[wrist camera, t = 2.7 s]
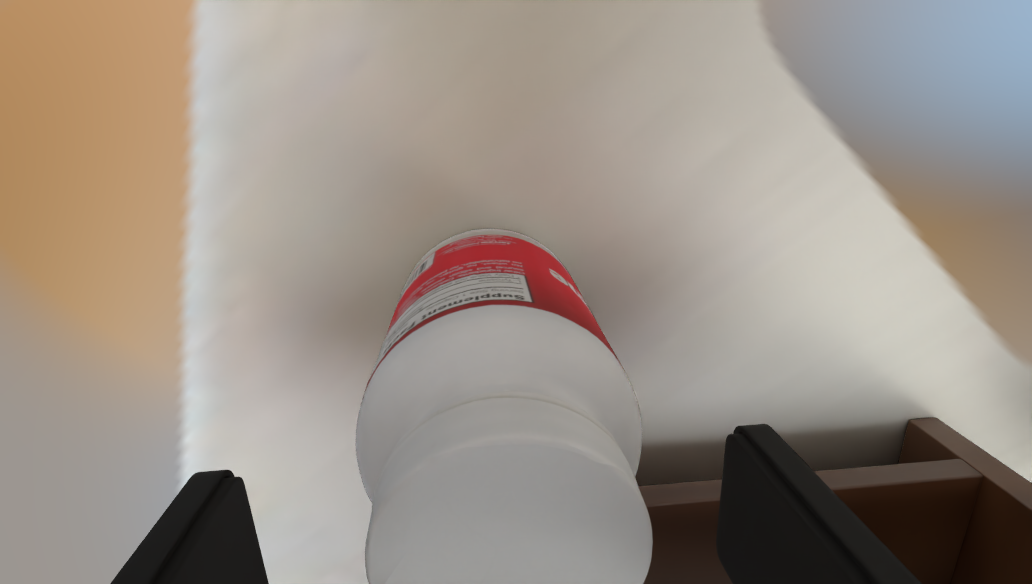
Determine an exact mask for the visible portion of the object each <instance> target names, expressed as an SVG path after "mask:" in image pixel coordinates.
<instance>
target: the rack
mask: <svg viewBox="0 0 1032 584" xmlns="http://www.w3.org/2000/svg"><path fill="white" fill-rule="evenodd" d="M814 472H815V473H816V474H817V475H818V476H819V477H820V478H821V479H822V480H823V482H824V483H825V484H826V485H827V486H828V487H829V488H830V489H831V490H832V491H833V492H834V493H835V494H836V495H837V496H838V497H839V498H840V499H841V500H842V501H843V502H844V503H845V504H846V505H847V506H848V507H849V508H850V510H851V511H852V512H853V513H854V514H855V515H856V516H857V517H858V518H859V519H860V520H861V521H862V522H863V523H864V524H865V525H866V526H867V527H868V528H869V529H870V530H871V531H872V532H873V533H874V534H875V535H876V537H877V538H878V539H879V540H880V541H881V542H882V543H883V544H884V545H885V546H886V547H887V548H888V549H889V550H890V551H891V552H892V553H893V554H894V555H895V556H896V557H897V558H898V559H899V560H900V561H901V562H902V564H903V565H904V566H905V567H906V568H907V569H908V570H909V571H910V572H911V573H912V574H913V575H914V576H915V577H916V578H917V579H918V580H919V581H920V582H921V583H922V584H1032V483H1031V482H1029V481H1028V480H1026V479H1025V478H1023V477H1022V476H1020V475H1019V474H1018V473H1016V472H1015V471H1013V470H1012V469H1010V468H1009V467H1007V466H1006V465H1004V464H1003V463H1001V462H1000V461H999V460H997V459H996V458H994V457H993V456H991V455H990V454H988V453H987V452H985V451H984V450H983V449H981V448H980V447H978V446H977V445H975V444H974V443H972V442H971V441H969V440H968V439H967V438H965V437H964V436H962V435H961V434H959V433H958V432H956V431H955V430H953V429H952V428H950V427H949V426H948V425H946V424H945V423H943V422H942V421H940V420H939V419H937V418H926V419H913V420H909V422H908V426H907V430H906V434H905V438H904V442H903V446H902V450H901V454H900V459H899V463H898V464H893V465H881V466H869V467H858V468H846V469H834V470H823V471H814ZM721 485H722V479H718V480H706V481H695V482H683V483H671V484H660V485H648V486H638V487H639V490H640V492H641V495H642V497H643V500H644V502H645V505H646V507H647V510H648V514H649V517H650V522H651V527H652V539H653V545H652V557H651V563H650V567H649V570H648V573H647V576H646V578H645V581H644V583H643V584H733V583H732V582H731V580H730V578H729V576H728V574H727V573H726V571H725V569H724V567H723V566H722V564H721V562H720V560H719V557H718V553H717V549H716V536H717V526H718V515H719V505H720V495H721Z"/></svg>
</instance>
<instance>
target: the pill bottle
mask: <svg viewBox="0 0 1032 584" xmlns="http://www.w3.org/2000/svg"><path fill="white" fill-rule="evenodd" d="M641 448H642V424H641V415H640V410H639V406H638V402H637V399H636V396H635V393H634V390H633V388H632V386H631V383H630V381H629V379H628V377H627V375H626V373H625V371H624V369H623V367H622V365H621V364H620V362H619V360H618V358H617V357H616V355H615V353H614V352H613V350H612V348H611V347H610V345H609V343H608V341H607V340H606V338H605V336H604V334H603V332H602V331H601V329H600V327H599V325H598V324H597V322H596V320H595V318H594V316H593V315H592V313H591V311H590V310H589V308H588V305H587V304H586V303H585V301H584V299H583V297H582V295H581V293H580V292H579V290H578V288H577V286H576V285H575V283H574V281H573V279H572V278H571V276H570V274H569V273H568V271H567V270H566V268H565V267H564V265H563V264H562V263H561V261H560V260H559V259H558V258H557V257H556V256H555V255H554V254H553V253H552V252H551V251H550V250H549V249H548V248H546V247H545V246H544V245H542V244H541V243H539V242H537V241H536V240H534V239H532V238H530V237H528V236H525V235H523V234H520V233H517V232H513V231H508V230H503V229H477V230H471V231H467V232H464V233H460V234H457V235H455V236H452V237H450V238H448V239H446V240H444V241H442V242H441V243H439V244H438V245H436V246H435V247H434V248H432V249H431V250H430V251H428V252H427V253H426V254H425V255H424V256H423V257H422V258H421V260H420V261H419V262H418V263H417V264H416V266H415V267H414V269H413V270H412V272H411V273H410V275H409V277H408V279H407V281H406V283H405V285H404V288H403V290H402V292H401V295H400V297H399V301H398V304H397V307H396V309H395V312H394V315H393V318H392V320H391V323H390V326H389V329H388V332H387V334H386V337H385V340H384V342H383V345H382V347H381V350H380V353H379V356H378V359H377V361H376V364H375V366H374V369H373V372H372V375H371V377H370V379H369V381H368V384H367V387H366V389H365V393H364V396H363V399H362V403H361V407H360V411H359V416H358V420H357V429H356V455H357V461H358V466H359V470H360V474H361V478H362V482H363V484H364V487H365V490H366V492H367V494H368V497H369V499H370V500H371V502H372V514H371V519H370V524H369V529H368V534H367V539H366V547H365V566H366V573H367V579H368V582H369V584H643V583H644V581H645V578H646V576H647V573H648V570H649V567H650V563H651V557H652V545H653V539H652V527H651V522H650V517H649V514H648V510H647V507H646V505H645V502H644V500H643V497H642V495H641V492H640V490H639V487H638V484H637V482H636V479H635V476H636V473H637V470H638V465H639V461H640V455H641Z"/></svg>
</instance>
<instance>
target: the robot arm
mask: <svg viewBox="0 0 1032 584" xmlns="http://www.w3.org/2000/svg"><path fill="white" fill-rule="evenodd" d="M716 549H717V553H718V557H719V560H720V562H721V564H722V566H723V567H724V569H725V571H726V573H727V574H728V576H729V578H730V580H731V582H732V583H733V584H922V583H921V582H920V581H919V580H918V579H917V578H916V577H915V576H914V575H913V574H912V573H911V572H910V571H909V570H908V569H907V568H906V567H905V566H904V565H903V564H902V562H901V561H900V560H899V559H898V558H897V557H896V556H895V555H894V554H893V553H892V552H891V551H890V550H889V549H888V548H887V547H886V546H885V545H884V544H883V543H882V542H881V541H880V540H879V539H878V538H877V537H876V535H875V534H874V533H873V532H872V531H871V530H870V529H869V528H868V527H867V526H866V525H865V524H864V523H863V522H862V521H861V520H860V519H859V518H858V517H857V516H856V515H855V514H854V513H853V512H852V511H851V510H850V508H849V507H848V506H847V505H846V504H845V503H844V502H843V501H842V500H841V499H840V498H839V497H838V496H837V495H836V494H835V493H834V492H833V491H832V490H831V489H830V488H829V487H828V486H827V485H826V484H825V483H824V482H823V480H822V479H821V478H820V477H819V476H818V475H817V474H816V473H815V472H814V471H813V470H812V469H811V468H810V467H809V466H808V465H807V464H806V463H805V462H804V461H803V460H802V459H801V458H800V457H799V456H798V455H797V453H796V452H795V451H794V450H793V449H792V448H791V447H790V446H789V445H788V444H787V443H786V442H785V441H784V440H783V439H782V438H781V437H780V436H779V435H778V434H777V433H776V432H775V431H774V430H773V429H772V428H771V427H770V426H769V425H767V424H758V425H747V426H738V427H736V428H735V430H734V434H730V435H728V436H727V438H726V444H725V454H724V465H723V475H722V485H721V495H720V505H719V515H718V526H717V536H716ZM111 584H269V583H268V579H267V575H266V571H265V567H264V563H263V559H262V555H261V550H260V546H259V542H258V538H257V534H256V530H255V526H254V522H253V517H252V513H251V509H250V505H249V501H248V497H247V493H246V489H245V484H244V481H243V479H242V478H241V477H234V474H233V473H232V472H231V471H230V470H219V471H207V472H198V473H195V474H194V475H193V476H192V477H191V478H190V479H189V480H188V482H187V483H186V484H185V486H184V487H183V488H182V490H181V491H180V492H179V494H178V495H177V496H176V497H175V499H174V500H173V501H172V503H171V504H170V506H169V507H168V508H167V509H166V511H165V512H164V513H163V515H162V516H161V517H160V519H159V520H158V521H157V523H156V524H155V525H154V527H153V528H152V530H151V531H150V532H149V533H148V535H147V536H146V537H145V539H144V540H143V541H142V543H141V544H140V545H139V546H138V548H137V549H136V551H135V552H134V553H133V554H132V556H131V557H130V558H129V560H128V561H127V562H126V564H125V565H124V566H123V568H122V569H121V570H120V572H119V573H118V574H117V576H116V577H115V578H114V580H113V581H112V582H111Z"/></svg>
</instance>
